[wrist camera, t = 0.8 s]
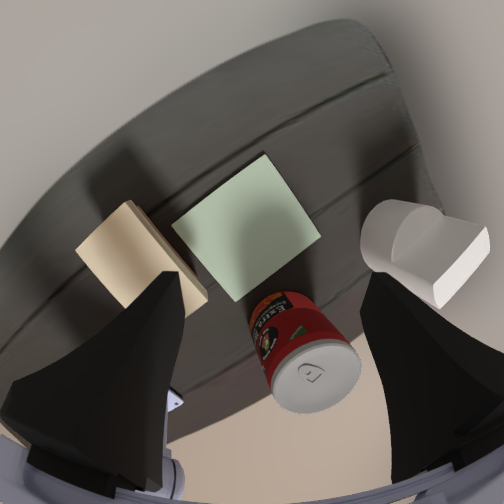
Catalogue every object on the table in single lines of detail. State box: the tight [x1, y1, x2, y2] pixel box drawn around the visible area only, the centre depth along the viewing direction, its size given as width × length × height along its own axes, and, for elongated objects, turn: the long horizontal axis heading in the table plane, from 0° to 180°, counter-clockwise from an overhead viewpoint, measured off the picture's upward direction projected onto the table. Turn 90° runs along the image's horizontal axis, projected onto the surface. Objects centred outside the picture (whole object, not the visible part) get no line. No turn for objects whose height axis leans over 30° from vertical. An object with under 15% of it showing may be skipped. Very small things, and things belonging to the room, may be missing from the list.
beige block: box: [75, 200, 208, 318], centre depth 22 cm, size 6×10×2 cm, turn 37°
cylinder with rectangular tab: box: [360, 199, 490, 309], centre depth 25 cm, size 9×9×12 cm
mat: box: [171, 154, 321, 302], centre depth 27 cm, size 11×10×1 cm
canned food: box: [250, 291, 361, 414], centre depth 26 cm, size 8×8×11 cm
